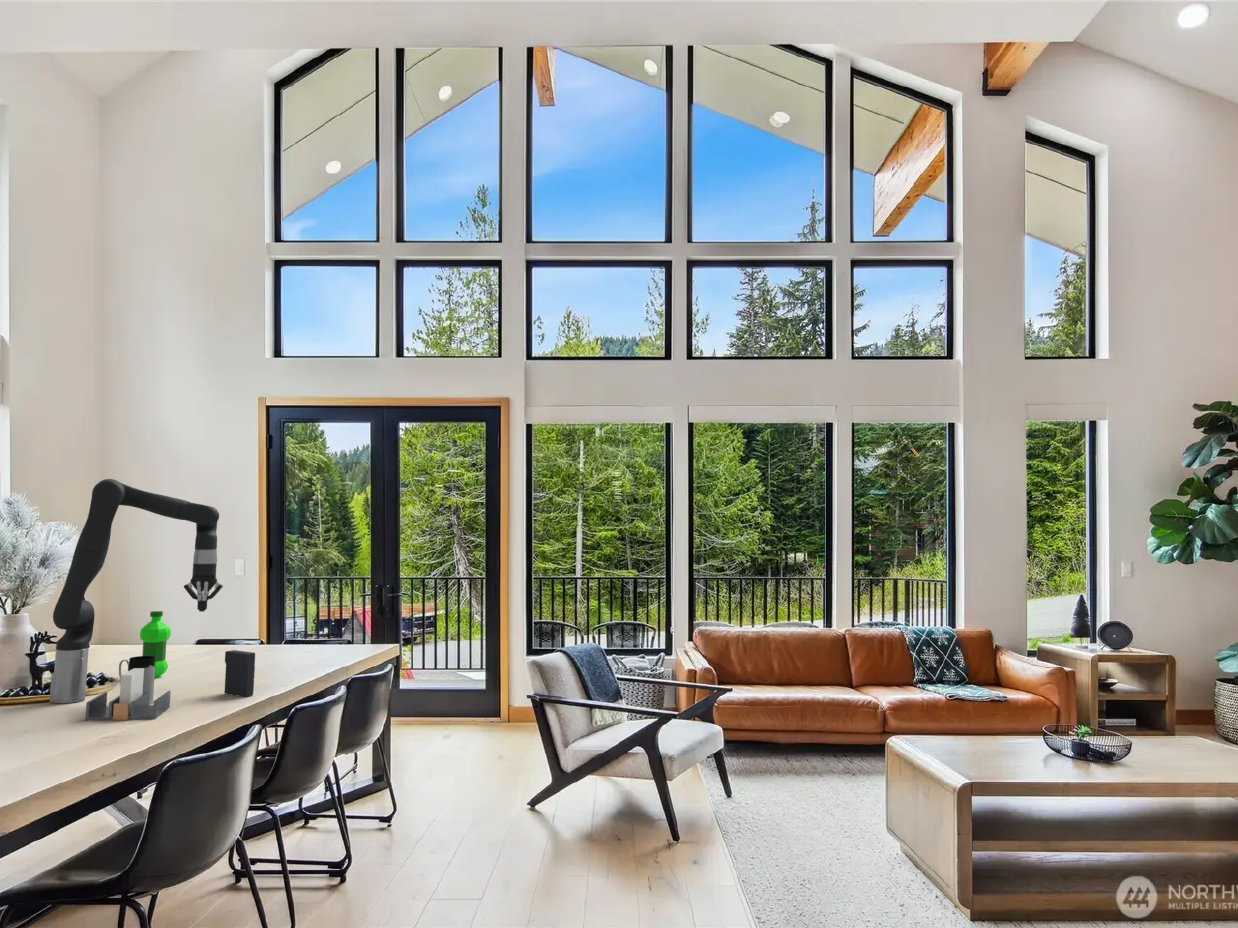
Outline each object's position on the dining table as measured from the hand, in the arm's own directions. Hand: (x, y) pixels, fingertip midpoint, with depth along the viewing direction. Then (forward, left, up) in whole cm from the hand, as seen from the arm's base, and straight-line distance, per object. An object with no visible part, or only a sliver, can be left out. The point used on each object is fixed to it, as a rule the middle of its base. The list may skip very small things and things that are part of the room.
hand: (202, 611), depth 295 cm
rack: (-13, -28, -29) cm, 43 cm away
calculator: (+14, -2, -29) cm, 32 cm away
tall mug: (-17, -11, -29) cm, 36 cm away
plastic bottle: (-24, +35, -29) cm, 52 cm away
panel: (-13, -27, -28) cm, 41 cm away
